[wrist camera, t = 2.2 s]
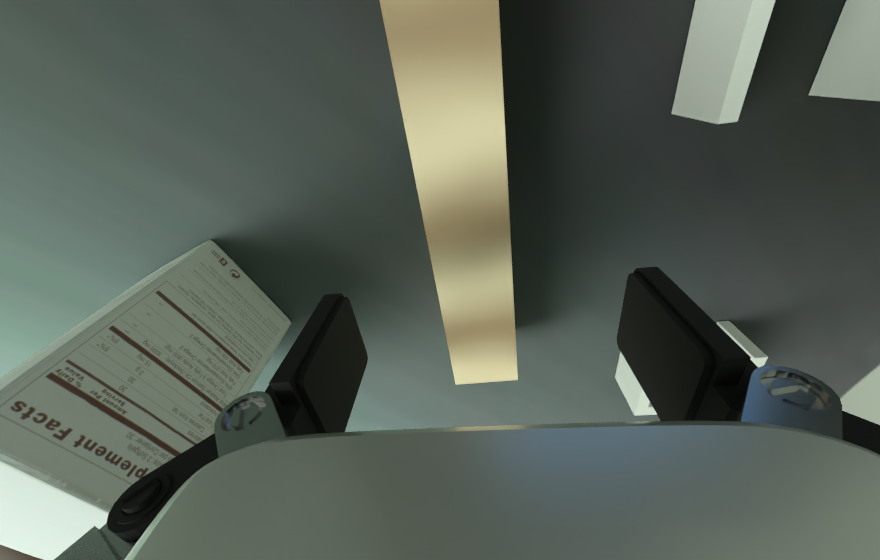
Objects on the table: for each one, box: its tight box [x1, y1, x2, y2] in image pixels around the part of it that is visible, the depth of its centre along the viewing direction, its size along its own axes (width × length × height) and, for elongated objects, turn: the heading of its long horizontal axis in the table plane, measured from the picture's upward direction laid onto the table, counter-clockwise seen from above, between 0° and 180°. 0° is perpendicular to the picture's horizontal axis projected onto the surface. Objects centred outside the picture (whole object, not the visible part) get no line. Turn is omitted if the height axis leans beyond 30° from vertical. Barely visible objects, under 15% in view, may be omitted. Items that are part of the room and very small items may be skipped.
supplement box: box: [0, 240, 291, 560], centre depth 17 cm, size 7×7×13 cm
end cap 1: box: [615, 321, 768, 415], centre depth 22 cm, size 5×6×3 cm
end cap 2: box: [671, 0, 880, 124], centre depth 12 cm, size 5×6×3 cm
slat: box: [380, 0, 518, 385], centre depth 16 cm, size 20×4×4 cm, turn 9°
